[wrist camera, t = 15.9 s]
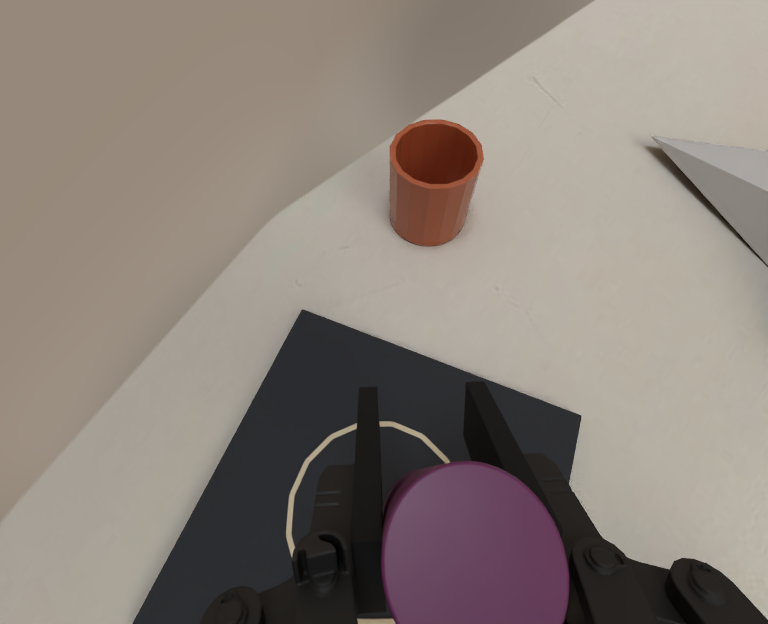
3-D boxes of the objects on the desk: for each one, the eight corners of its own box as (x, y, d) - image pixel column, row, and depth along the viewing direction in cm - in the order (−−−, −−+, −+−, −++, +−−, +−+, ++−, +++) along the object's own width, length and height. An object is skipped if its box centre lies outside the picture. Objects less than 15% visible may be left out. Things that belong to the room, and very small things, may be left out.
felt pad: (134, 628, 20) (125, 633, 19) (303, 312, 27) (301, 308, 26) (496, 840, 17) (500, 855, 16) (577, 416, 24) (582, 415, 23)
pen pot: (378, 232, 30) (375, 172, 24) (405, 177, 32) (409, 110, 26) (451, 256, 29) (467, 200, 23) (473, 198, 31) (494, 133, 25)
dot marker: (371, 537, 16) (350, 628, 7) (400, 456, 17) (418, 433, 8) (449, 574, 16) (550, 731, 6) (473, 487, 17) (585, 503, 7)
